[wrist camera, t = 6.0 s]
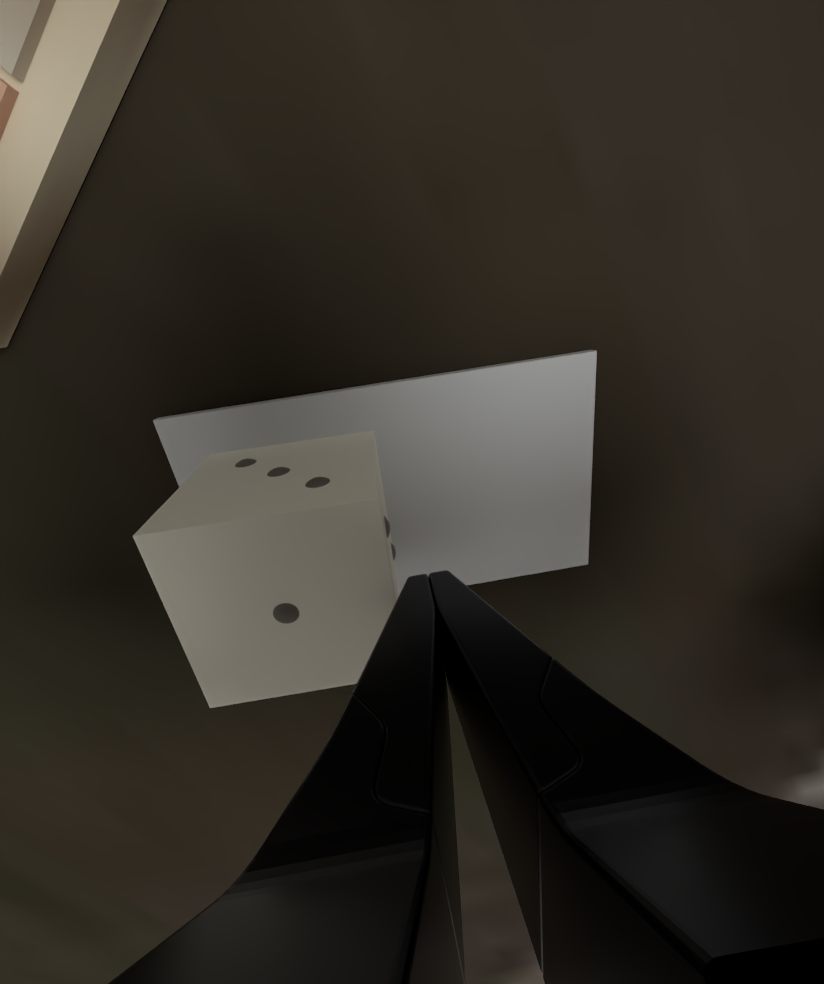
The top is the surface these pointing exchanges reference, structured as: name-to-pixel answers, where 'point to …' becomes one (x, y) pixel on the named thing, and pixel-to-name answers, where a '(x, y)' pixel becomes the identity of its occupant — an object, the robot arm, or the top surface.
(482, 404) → the mat
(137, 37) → the board
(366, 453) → the die
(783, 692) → the top surface
